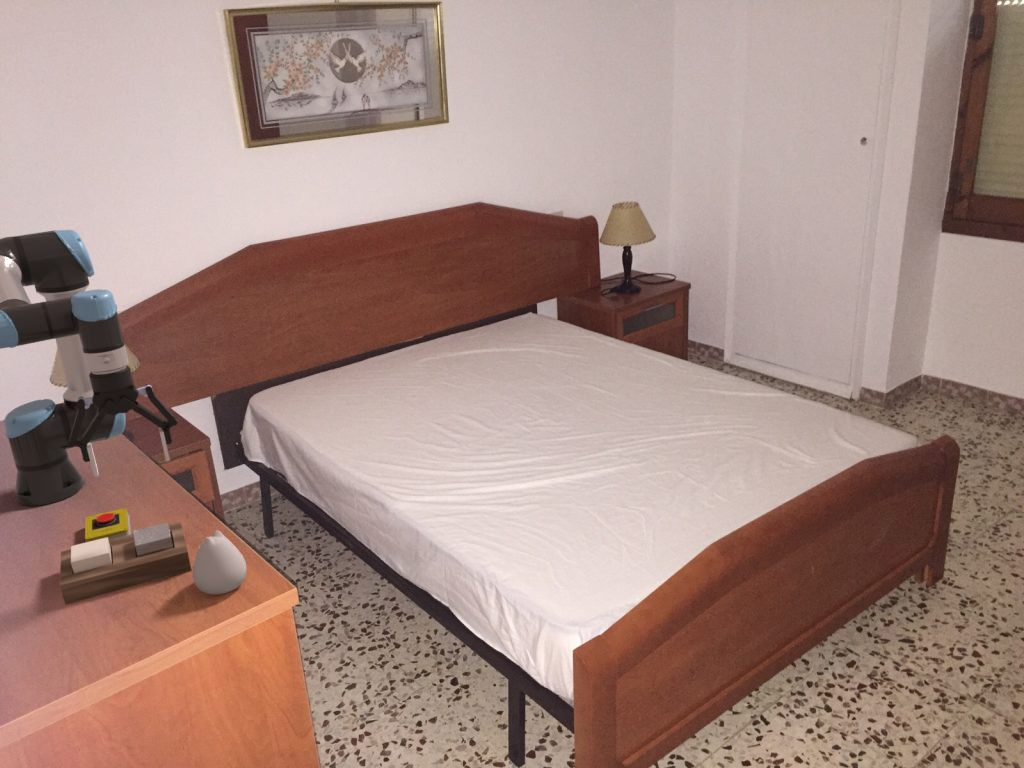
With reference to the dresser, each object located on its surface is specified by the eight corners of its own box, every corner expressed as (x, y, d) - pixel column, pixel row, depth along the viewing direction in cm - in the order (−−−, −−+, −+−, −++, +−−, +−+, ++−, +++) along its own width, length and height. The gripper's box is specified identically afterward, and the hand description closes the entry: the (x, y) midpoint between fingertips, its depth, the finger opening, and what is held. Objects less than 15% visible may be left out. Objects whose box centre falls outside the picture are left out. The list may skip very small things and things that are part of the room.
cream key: (74, 560, 174) (71, 546, 172) (111, 550, 176) (107, 537, 175) (74, 576, 168) (70, 562, 166) (112, 567, 170) (108, 552, 169)
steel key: (136, 544, 178) (133, 530, 177) (171, 535, 181) (168, 522, 180) (138, 560, 172) (135, 546, 171) (174, 550, 175) (171, 536, 174)
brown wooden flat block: (66, 569, 177) (60, 551, 175) (184, 539, 186) (180, 522, 185) (65, 604, 165) (59, 585, 163) (191, 570, 175) (187, 551, 173)
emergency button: (126, 500, 197) (128, 528, 184) (129, 516, 199) (132, 545, 186) (83, 509, 194) (82, 539, 181) (87, 526, 195) (87, 557, 182)
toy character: (219, 566, 175) (209, 517, 171) (259, 576, 171) (250, 525, 167) (184, 594, 166) (172, 542, 162) (225, 604, 163) (215, 552, 158)
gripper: (37, 386, 156) (64, 488, 162) (177, 361, 165) (197, 458, 172) (39, 376, 162) (66, 474, 169) (174, 352, 172) (194, 446, 179)
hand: (132, 466), depth 171 cm, fingers open, 13 cm apart
